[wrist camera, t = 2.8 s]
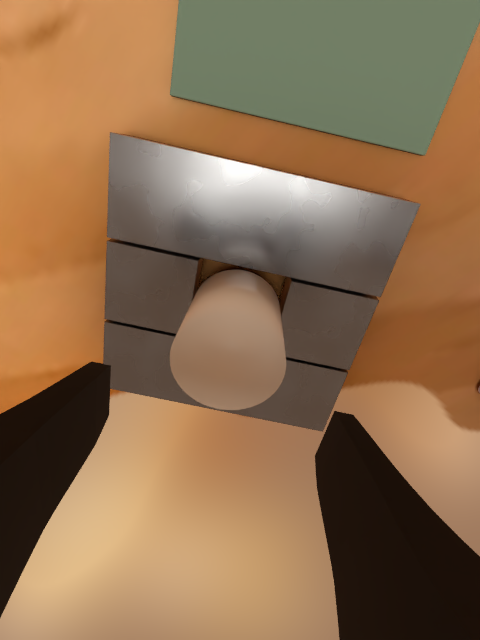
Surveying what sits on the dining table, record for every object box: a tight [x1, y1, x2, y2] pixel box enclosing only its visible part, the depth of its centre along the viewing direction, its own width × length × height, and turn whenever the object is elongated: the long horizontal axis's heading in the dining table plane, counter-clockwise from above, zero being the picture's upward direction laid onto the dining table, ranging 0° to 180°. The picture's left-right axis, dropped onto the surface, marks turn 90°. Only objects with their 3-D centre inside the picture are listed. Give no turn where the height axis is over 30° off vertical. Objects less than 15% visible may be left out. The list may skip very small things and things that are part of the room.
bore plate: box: [103, 132, 420, 431], centre depth 19 cm, size 14×14×2 cm
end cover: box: [170, 269, 286, 410], centre depth 16 cm, size 5×5×7 cm
